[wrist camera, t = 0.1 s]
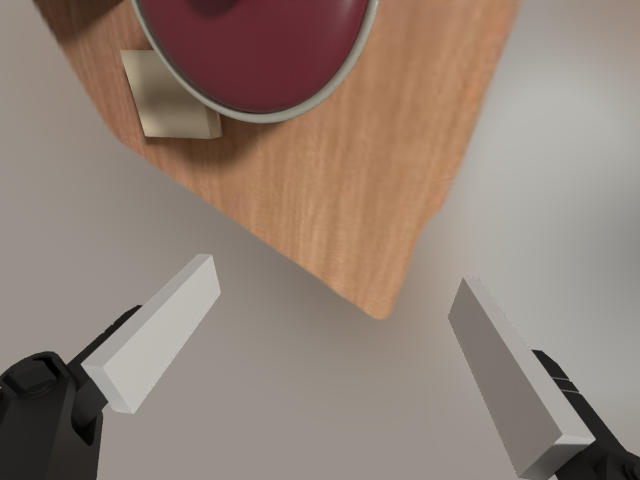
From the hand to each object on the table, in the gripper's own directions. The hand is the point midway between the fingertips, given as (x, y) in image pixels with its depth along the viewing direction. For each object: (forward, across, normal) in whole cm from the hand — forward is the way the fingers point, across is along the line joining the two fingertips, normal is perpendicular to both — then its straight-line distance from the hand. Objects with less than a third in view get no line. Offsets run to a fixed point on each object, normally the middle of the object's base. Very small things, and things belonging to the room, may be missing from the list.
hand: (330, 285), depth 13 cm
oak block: (+28, -24, +9) cm, 38 cm away
